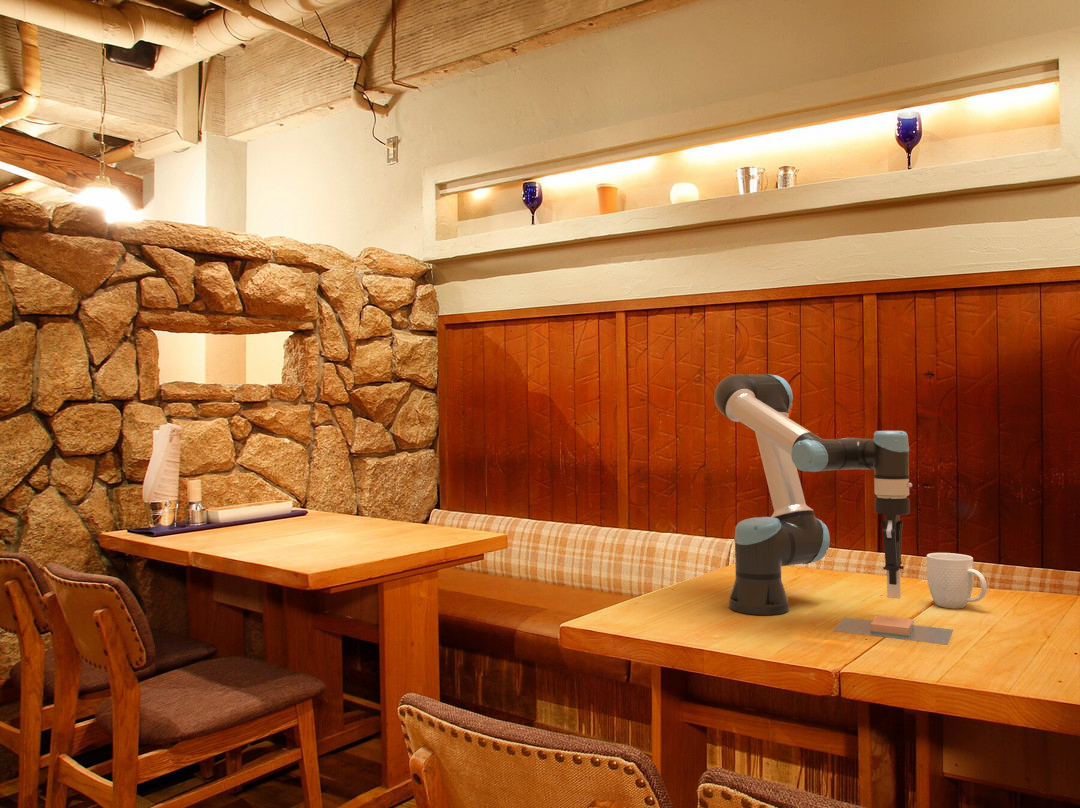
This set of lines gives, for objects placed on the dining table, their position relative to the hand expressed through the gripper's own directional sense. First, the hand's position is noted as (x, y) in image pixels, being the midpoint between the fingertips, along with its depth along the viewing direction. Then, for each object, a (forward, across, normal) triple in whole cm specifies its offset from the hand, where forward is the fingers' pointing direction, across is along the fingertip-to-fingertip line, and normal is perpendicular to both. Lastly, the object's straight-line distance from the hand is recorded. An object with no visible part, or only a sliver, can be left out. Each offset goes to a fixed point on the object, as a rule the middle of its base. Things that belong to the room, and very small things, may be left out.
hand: (894, 597), depth 191 cm
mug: (+8, +33, -10) cm, 35 cm away
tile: (+6, +1, 0) cm, 6 cm away
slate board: (+8, -3, 0) cm, 8 cm away
